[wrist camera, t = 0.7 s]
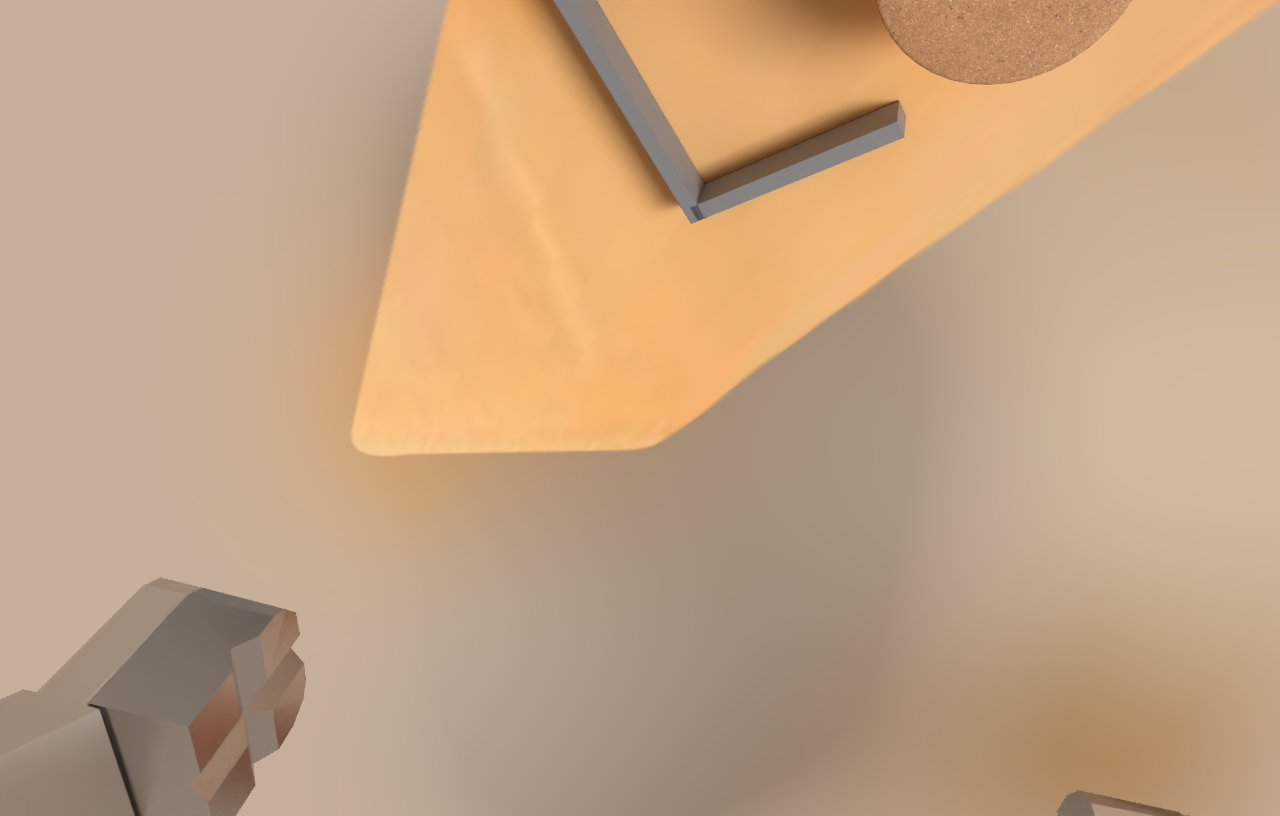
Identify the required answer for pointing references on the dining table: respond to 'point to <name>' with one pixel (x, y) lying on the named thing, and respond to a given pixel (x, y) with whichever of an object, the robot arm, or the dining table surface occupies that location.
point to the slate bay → (671, 156)
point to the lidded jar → (996, 34)
